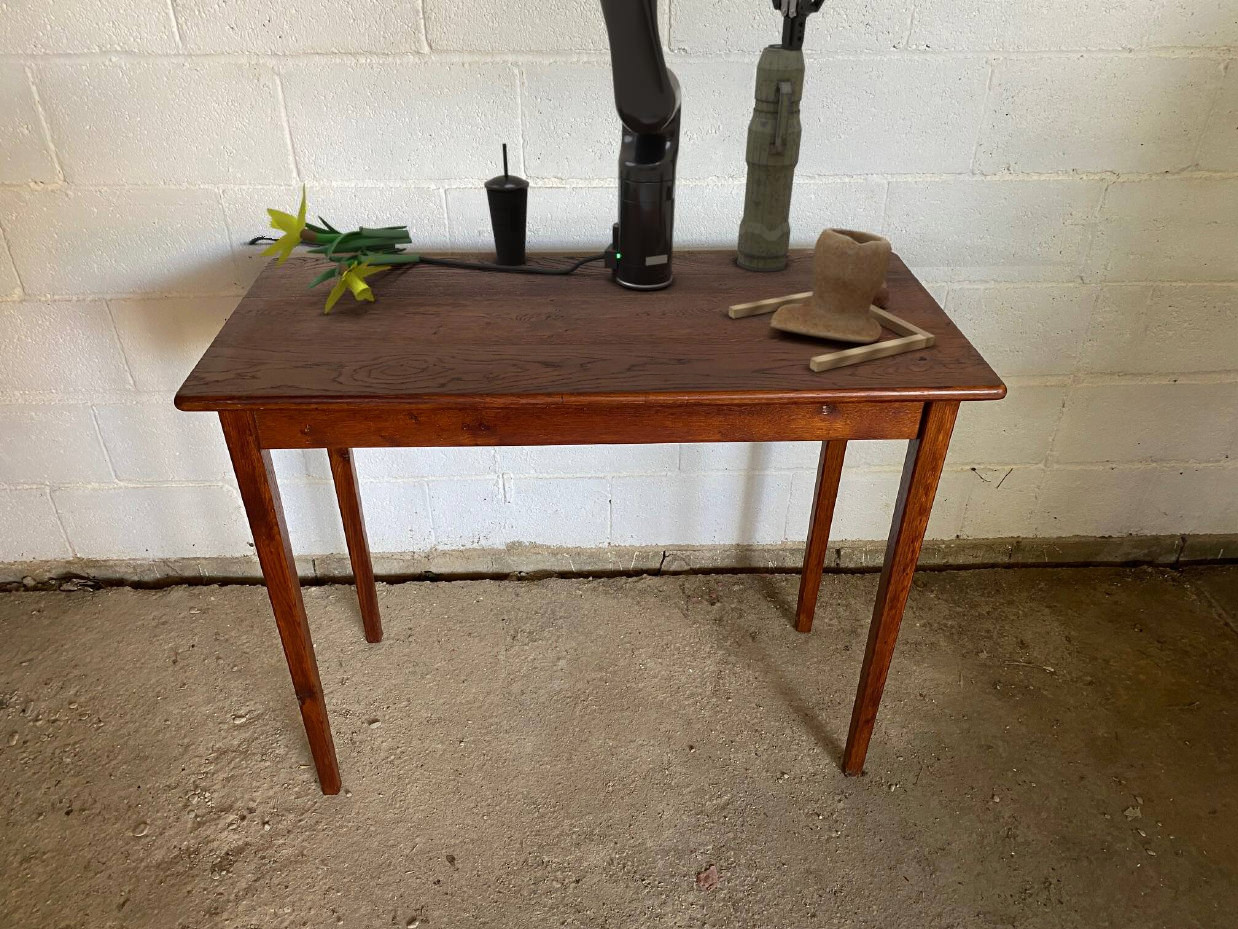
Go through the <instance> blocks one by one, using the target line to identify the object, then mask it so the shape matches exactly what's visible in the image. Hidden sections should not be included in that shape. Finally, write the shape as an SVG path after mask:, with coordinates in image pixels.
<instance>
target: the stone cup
mask: <svg viewBox="0 0 1238 929" xmlns="http://www.w3.org/2000/svg"><path fill="white" fill-rule="evenodd" d="M892 250H893V249H892V245H891V243H890V241H889V240H888V239H886V238H884V237H883V236H881V235H877V234H874V233H871V232H867V231H861V230H855V229H849V228H848V229H847V228H841V227H840V228H834V227H827V228H825V229H823V230H822V231H821V233H820V234H819V236H818V238H817V240H816V243H815V245H814V249H813V253H812V254H813V255H812V291H813V294H812V297H811V299H810V300H809V301H808V302H806V303H804V304H791V305H785V306H782V307H780V308H779V309H778V310H777V311H774V313H773V315H772V317H771V320H770V328H771V329H774V330H777V331H783V332H788V333H792V334H797V335H802V336H808V337H813V338H819V339H826V340H832V341H839V342H846V343H849V342H850V343H854V344H855V343H856V344H871V343H874V342H876V341H877V340H879V339H880V337H881V336H882V325H881V324H879V323H878V322H877V321H875V320H874V319H872V318H871V317H870V315H869V310H870V306H871V303H872V301H873V299H874V297H875V295H876V293H877V292H878V290H879V288H880V287H881V285H882V283H883V281H884V280H886V276H887V274H888V269H889V266H890V262H891V258H892V252H893V251H892Z"/></svg>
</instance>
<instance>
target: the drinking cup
mask: <svg viewBox="0 0 1238 929" xmlns="http://www.w3.org/2000/svg"><path fill="white" fill-rule="evenodd" d="M501 145H502V146H501V147H502V162H503V174H501V175H497V176H495V177H492V178H491V179H489V180H486V181H485V182H484V183H483V187H484V188H485V191H486V196H487V204H488V211H489V215H490V221H491V227H492V234H493V239H494V246H495V253H496V259H497V263H498V265H501V266H519V265H520V266H521V265H522V264H524V263H525V262H526V245H527V244H526V242H527V221H528V220H527V217H528V192H529V187H530V182H529V181H528V180H527V179H524V178H522V177H519V176H517V175H513V174H509V164H508V150H507V149H508V148H507V147H508V146H507V143H506V142H505V143H501Z"/></svg>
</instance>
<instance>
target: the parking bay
mask: <svg viewBox="0 0 1238 929" xmlns="http://www.w3.org/2000/svg"><path fill="white" fill-rule="evenodd" d="M812 294H813V290H811V291H807V292H801V293H796V294H795V293H794V294H790V295H785V296H779V297H774V298H769V299H763V300H762V299H761V300H757V301H752V302H747V303H741V304H736V305H731V306H729V307H728V316H729V317H730V318H731V319H740V318H744V317H749V316H750V317H751V316H755V315H760V314H766V313H772V312H776V311H777V310H778V309H779V308H780V307H782V306H785V305H791V304H804V303H806V302H808V301H809V300H810V299H811V297H812ZM869 315H870V317H871V318H872V319H874V320H875V321H877V322H878V323H879V324H880V326H883V327H884V328H887V329H888V330H891V331H893V332H894V333H896V334H898V335H900V336H902V337H900V338H896V339H895V338H894V339H891V340H886V341H882V342H878V343H873V344H868V345H864V346H859V347H854V348H849V349H845V350H841V351H837V352H832V353H827V354H823V355H819V356H818V355H817V356H814V357H811V358H810V363H809V369H811V371H814V372H815V373H818V372H823V371H828V370H833V369H836V368H840V367H845V366H849V365H853V364H858V363H862V362H866V361H867V362H868V361H872V360H875V359H880V358H884V357H889V356H894V355H897V354H903V353H906V352H907V353H908V352H913V351H916V350H921V349H924V348H929V347H933V346H934V341H935V335H933V334H932V333H929V332H927V331H926V330H924V329H921V328H920V327H917V326H915V325H913V324H911V323H909V322H908V321H906V320H903V319H901V317H897V316H896V315H894V314H891V313H890V312H887V311H885V310H884V309H881V308H880V307H876V306H874V305H872V304H871V306H870V310H869Z"/></svg>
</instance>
